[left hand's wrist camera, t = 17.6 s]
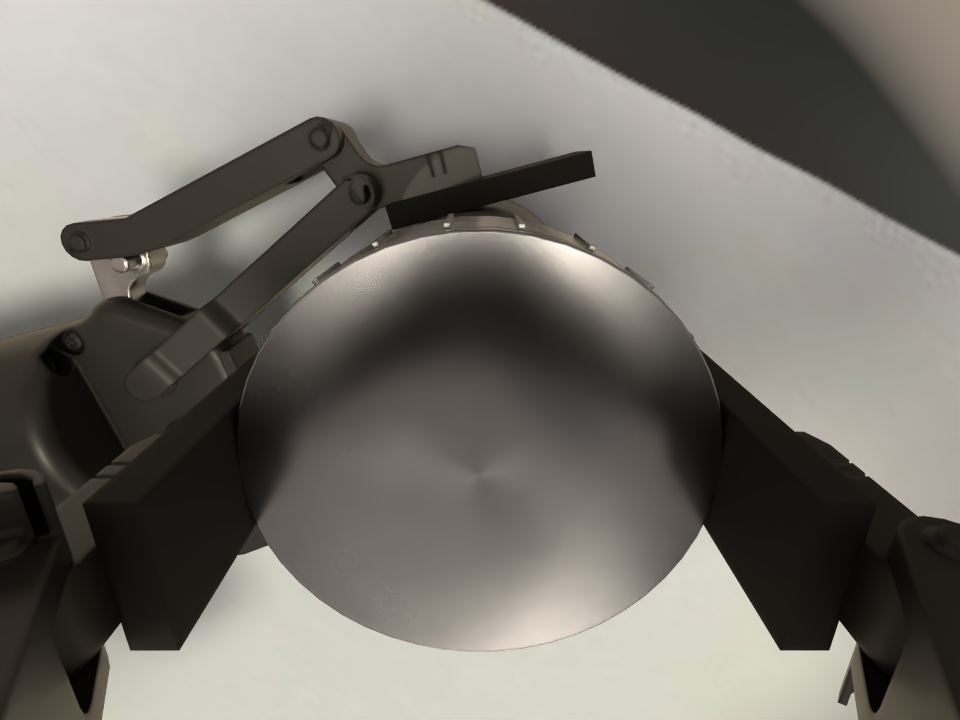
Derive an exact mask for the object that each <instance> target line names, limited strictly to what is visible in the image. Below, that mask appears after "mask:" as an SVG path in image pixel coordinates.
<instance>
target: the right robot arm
mask: <svg viewBox="0 0 960 720" xmlns="http://www.w3.org/2000/svg"><path fill="white" fill-rule="evenodd" d="M324 170H325V172H326V173H327V174H328V176H329V177H330V178H331V180H332V181H333V182H334V184H335V185H336V186H337V187H336V188H335V189H333V190H332V191H331V192H330V193H329V194H328V195H327V196H326V197H325V198H324V199H322V200H321V201H320V202H319V203H318V204H317V205H316V206H315V207H314V208H313V209H312V210H310V211H309V212H308V213H307V214H306V215H305V216H304V217H303V218H302V219H301V220H300V221H298V222H297V223H296V224H295V225H294V226H293V227H292V228H291V229H290V230H289V231H287V232H286V233H285V234H284V235H283V236H282V237H281V238H280V239H279V240H278V241H277V242H275V243H274V244H273V245H272V246H271V247H270V248H269V249H268V250H267V251H266V252H264V253H263V254H262V255H261V256H260V257H259V258H258V259H257V260H256V261H255V262H254V263H252V264H251V265H250V266H249V267H248V268H247V269H246V270H245V271H244V272H243V273H242V274H240V275H239V276H238V277H237V278H236V279H235V280H234V281H233V282H232V283H231V284H229V285H228V286H227V287H226V288H225V289H224V290H223V291H222V292H221V293H220V294H219V295H217V296H216V297H215V298H214V299H213V300H211V301H210V302H209V303H207V304H206V305H204V306H203V307H202V308H201V309H197V308H195V307H192V306H189V305H186V304H183V303H181V302H178V301H175V300H172V299H169V298H166V297H164V296H161V295H158V294H155V293H152V292H149V291H146V286H145V284H146V280H147V278H148V276H149V275H150V274H152V273H154V272H156V271H159V270H160V269H162V268H163V266H164V264H165V259H166V258H167V256H168V252H167V250H166V248H165V247H168V246H172V245H175V244H178V243H182V242H185V241H188V240H190V239H193V238H195V237H197V236H199V235H201V234H203V233H205V232H207V231H209V230H211V229H213V228H215V227H217V226H219V225H220V224H222V223H224V222H226V221H228V220H230V219H232V218H234V217H236V216H238V215H240V214H242V213H244V212H246V211H247V210H249V209H251V208H253V207H255V206H257V205H259V204H261V203H263V202H265V201H267V200H269V199H271V198H272V197H274V196H276V195H278V194H280V193H282V192H284V191H286V190H288V189H290V188H292V187H294V186H296V185H297V184H299V183H301V182H303V181H305V180H307V179H309V178H311V177H313V176H315V175H317V174H319V173H321V172H323V171H324ZM591 177H595V170H594V164H593V158H592V152H591V151H579V152H573V153H569V154H566V155H562V156H558V157H554V158H551V159H547V160H543V161H540V162H536V163H532V164H528V165H525V166H521V167H517V168H514V169H510V170H506V171H502V172H499V173H495V174H491V175H488V176H484V177H482V174H481V170H480V166H479V162H478V158H477V154H476V149H475V148H473V147H466V146H459V145H457V146H454V147H450V148H446V149H443V150H439V151H435V152H432V153H428V154H425V155H421V156H417V157H414V158H410V159H406V160H403V161H399V162H396V163H392V164H388V165H383V164H380V163H377V162H376V161H374V160H373V159H372V158H371V157H370V156H369V155H368V154H367V153H366V151H365V150H364V148H363V147H362V145H361V144H360V143H359V141H358V140H357V137H356V134H355V132H354V131H353V129H352V128H351V127H350V126H349V125H347V124H345V123H343V122H339V121H335V120H331V119H327V118H322V117H314V118H310V119H308V120H306V121H304V122H303V123H301V124H299V125H297V126H295V127H293V128H291V129H290V130H288V131H286V132H284V133H282V134H280V135H279V136H277V137H275V138H273V139H271V140H269V141H267V142H266V143H264V144H262V145H260V146H258V147H256V148H254V149H253V150H251V151H249V152H247V153H245V154H243V155H241V156H240V157H238V158H236V159H234V160H232V161H230V162H228V163H227V164H225V165H223V166H221V167H219V168H217V169H215V170H214V171H212V172H210V173H208V174H206V175H204V176H203V177H201V178H199V179H197V180H195V181H193V182H191V183H190V184H188V185H186V186H184V187H182V188H180V189H178V190H177V191H175V192H173V193H171V194H169V195H167V196H165V197H164V198H162V199H160V200H158V201H156V202H154V203H152V204H151V205H149V206H147V207H145V208H143V209H141V210H139V211H138V212H136V213H134V214H132V215H121V216H115V217H109V218H103V219H96V220H90V221H84V222H78V223H72V224H69V225H67V226H66V227H65V228H64V229H63V230H62V233H61V242H62V245H63V247H64V248H65V250H66V252H68V253H69V254H70V255H71V256H72V257H74V258H76V259H78V260H83V261H90V262H91V264H92V267H93V270H94V273H95V276H96V278H97V281H98V284H99V287H100V290H101V293H102V295H103V298H104V301H102V302H100V303H99V304H98V305H97V306H96V307H95V308H94V309H93V311H92V312H91V313H90V314H89V315H88V316H87V317H86V318H82V319H78V320H74V321H70V322H66V323H63V324H59V325H55V326H51V327H47V328H44V329H40V330H36V331H32V332H28V333H25V334H21V335H17V336H13V337H9V338H6V339H3V340H0V471H6V470H14V469H28V470H36V471H38V472H40V473H42V474H44V476H45V478H46V481H47V484H48V487H49V490H50V493H51V496H52V498H53V501H54V504H55V507H57V506H59V505H60V504H61V503H62V502H64V501H65V500H66V499H67V498H68V497H70V496H71V495H72V494H73V493H74V492H76V491H77V490H78V489H79V488H81V487H82V486H83V485H84V484H85V483H87V482H88V481H89V480H90V479H95V475H96V474H97V473H99V472H100V471H101V470H102V469H104V468H105V467H106V466H107V465H111V462H112V461H113V460H114V459H116V458H117V457H118V456H119V455H121V454H122V453H123V452H124V451H125V450H127V449H128V448H129V447H130V446H132V445H134V444H136V443H138V442H140V441H142V440H144V439H146V438H148V437H150V436H152V435H154V434H163V433H164V432H165V431H166V430H168V429H169V428H170V427H171V426H172V425H173V424H174V423H176V422H177V421H178V420H179V419H180V418H181V417H182V416H184V415H185V414H186V413H187V412H188V411H189V410H191V409H192V408H193V407H194V406H195V405H196V404H197V403H199V402H200V401H201V400H202V399H203V398H204V397H205V396H207V395H208V394H209V393H210V392H211V391H212V390H214V389H215V388H216V387H217V386H218V385H219V384H220V383H222V382H223V381H224V380H225V379H226V378H227V377H229V376H230V375H231V374H232V373H233V372H234V371H235V370H237V369H238V368H239V367H240V366H241V365H242V364H243V363H245V362H246V361H247V360H248V359H249V358H250V357H252V356H253V355H254V354H255V353H256V352H257V351H258V350H259V348H258V346H257V344H256V342H255V339H254V337H253V335H252V332H251V333H247V334H245V333H244V331H243V330H242V329H244V328H245V327H246V326H247V325H248V324H249V323H250V322H252V321H253V320H254V319H255V318H256V317H257V316H258V315H260V314H261V313H262V312H263V311H264V310H265V309H266V308H267V307H268V306H269V305H270V304H271V303H272V302H273V301H275V300H276V299H277V298H278V297H279V296H280V295H281V294H283V293H284V292H285V291H286V290H287V289H288V288H289V287H291V286H292V285H293V284H294V283H295V282H296V281H297V280H298V279H300V278H301V277H302V276H303V275H304V274H305V273H306V272H308V271H309V270H310V269H311V268H312V267H313V266H314V265H316V264H317V263H318V262H319V261H320V260H321V259H322V258H324V257H325V256H326V255H327V254H328V253H329V252H330V251H332V250H333V249H334V248H335V247H336V246H337V245H338V244H339V243H341V242H342V241H343V240H344V239H345V238H346V237H347V236H349V235H350V234H351V233H352V232H353V231H354V230H355V229H357V228H358V227H359V226H360V225H361V224H362V223H363V222H365V221H366V220H367V219H368V218H369V217H370V216H371V215H373V214H374V213H375V212H376V211H377V210H378V209H379V208H383V207H386V210H387V213H388V216H389V220H390V223H391V226H392V229H393V230H395V229H399V228H402V227H406V226H410V225H414V224H417V223H421V222H425V221H429V220H433V219H436V218H440V217H443V216H448V214H452V213H454V214H455V213H459V212H463V211H467V210H470V209H474V208H478V207H482V206H486V205H489V204H493V203H497V202H501V201H504V200H508V199H512V198H516V197H520V196H523V195H527V194H531V193H535V192H538V191H542V190H546V189H550V188H554V187H557V186H561V185H565V184H569V183H573V182H576V181H580V180H584V179H588V178H591ZM267 545H268V544H267V542H266V541H265V539H264V537H263V535H262V534H261V532H260V530H259V528H258V526H257V524H256V526H255V527H254V529H253V531H252V532H251V534H250V535H249V537H248V539H247V540H246V542H245V544H244V545H243V547H242V549H241V550H240V552H239V553H238V555H242V554H246V553H249V552H251V551H254V550H257V549H259V548H262V547H265V546H267Z"/></svg>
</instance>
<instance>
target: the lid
mask: <svg viewBox="0 0 960 720" xmlns="http://www.w3.org/2000/svg"><path fill="white" fill-rule="evenodd" d="M312 283H313V284H314V285H315V286H313V287H312V288H311V289H310V290H309V291H308V292H306V293H305V294H304V295H303V296H302V297H301V298H299V299H298V300H297V301H296V302H295V303H294V304H293V306H292V307H291V308H290V309H289V310H288V311H287V312H286V314H285V315H284V316H283V317H282V318H281V319H280V321H279V322H278V323H277V324H276V325H275V326H274V327H273V328H271V330H270V332H269V333H270V334H269V336H268V338H267V339H266V341H265V342H264V344H263V345H262V347H261V349H260V350H259V352H258V354H257V356H256V359H255V361H254V363H253V366H252V368H251V370H250V372H249V375H248V377H247V379H246V383H245V387H244V391H243V395H242V398H241V402H240V406H239V413H238V423H237V434H236V442H237V458H238V464H239V469H240V474H241V479H242V484H243V490H244V494H245V498H246V500H247V503H248V506H249V508H250V511H251V514H252V517H253V519H254V521H255V522H256V524H257V526H258V528H259V530H260V532H261V534H262V535H263V537H264V539H265V541H266V542H267V544H268V545H269V547H270V548H271V549H272V551H273V552H274V554H275V555H276V556H277V558H278V559H279V561H280V562H281V563H282V564H283V565H284V566H285V568H286V569H287V570H288V571H289V572H290V573H291V574H292V575H293V576H294V577H295V578H296V579H297V580H298V582H299V583H301V584H302V585H303V586H304V587H305V588H307V589H308V590H309V591H310V592H311V593H312V594H314V595H315V596H316V597H317V598H318V599H319V600H321V601H322V602H324V603H325V604H327V605H328V606H330V607H331V608H333V609H334V610H336V611H337V612H339V613H340V614H342V615H344V616H346V617H347V618H349V619H351V620H353V621H355V622H357V623H359V624H361V625H363V626H365V627H367V628H369V629H372V630H374V631H377V632H379V633H382V634H384V635H387V636H389V637H393V638H396V639H400V640H403V641H406V642H410V643H413V644H417V645H423V646H428V647H434V648H439V649H447V650H459V651H502V650H511V649H520V648H527V647H531V646H536V645H541V644H546V643H550V642H554V641H557V640H560V639H563V638H566V637H570V636H573V635H576V634H578V633H580V632H583V631H585V630H587V629H590V628H592V627H594V626H597V625H599V624H601V623H603V622H605V621H607V620H608V619H610V618H612V617H614V616H615V615H617V614H619V613H621V612H623V611H624V610H626V609H627V608H628V607H630V606H631V605H633V604H634V603H635V602H637V601H638V600H640V599H641V598H642V597H644V596H645V595H646V594H647V593H649V592H650V591H651V590H652V589H653V588H654V587H655V586H656V585H657V584H659V583H660V582H661V581H662V580H663V579H664V578H665V577H666V576H667V575H668V574H669V573H670V571H671V570H672V569H673V568H674V567H675V566H676V565H677V563H678V562H679V561H680V560H681V559H682V558H683V556H684V555H685V553H686V552H687V550H688V549H689V547H690V546H691V544H692V543H693V541H694V540H695V538H696V537H697V535H698V533H699V531H700V529H701V527H702V525H703V523H704V521H705V519H706V517H707V515H708V513H709V511H710V508H711V505H712V502H713V499H714V496H715V492H716V487H717V482H718V477H719V472H720V466H721V461H722V455H723V424H722V417H721V409H720V402H719V398H718V395H717V392H716V388H715V385H714V381H713V378H712V375H711V372H710V370H709V368H708V366H707V364H706V362H705V359H704V357H703V355H702V353H701V351H700V349H699V347H698V345H697V344H696V342H695V341H694V337H693V335H692V334H691V333H689V332H688V330H687V329H686V327H685V326H684V325H683V323H682V322H681V320H680V319H679V318H678V317H677V316H676V315H675V314H674V313H673V311H672V310H671V309H670V308H669V307H668V306H667V305H666V304H665V303H664V302H663V301H662V300H661V299H660V297H659V296H658V295H656V294H655V293H654V292H653V291H651V290H652V289H653V288H654V286H652V285H651V284H650V283H649V282H648V281H646V280H645V279H643V278H642V277H641V276H639V275H638V274H637V273H635V272H634V271H633V270H631V269H630V268H628V267H626V268H625V269H623V268H622V267H621V266H620V265H618V264H617V263H616V262H614V261H613V260H612V259H610V258H609V257H608V256H606V255H605V254H604V253H602V252H601V251H599V250H597V249H596V247H595V246H594V245H593V244H591V243H590V242H589V241H587V240H586V239H585V238H583V237H582V236H581V235H579V234H577V233H575V234H574V236H571V235H569V234H566V233H564V232H562V231H559V230H557V229H554V228H552V227H548V226H545V225H541V224H537V223H533V222H529V221H526V220H522V219H521V218H520V216H519V215H515V214H514V216H513V218H505V217H497V216H460V217H454V213H452V214H448V216H447V218H446V219H441V220H434V221H429V222H426V223H422V224H419V225H416V226H412V227H409V228H405V229H402V230H400V231H398V232H395V233H393V232H392V230H389V231H387V232H386V233H384V234H383V235H382V236H381V237H379V238H378V239H377V240H375V241H374V242H373V243H372V244H371V245H369V246H368V247H366V248H364V249H363V250H361V251H360V252H358V253H357V254H355V255H353V256H352V257H350V258H349V259H348V260H346V261H345V262H344V263H342V264H340V263H339V262H337V263H336V264H334V265H333V266H332V267H330V268H329V269H328V270H326V271H325V272H323V273H322V274H321V275H319V276H318V277H317V278H315V279H314V280H313V281H312Z"/></svg>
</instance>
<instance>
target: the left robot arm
mask: <svg viewBox="0 0 960 720" xmlns="http://www.w3.org/2000/svg"><path fill="white" fill-rule="evenodd" d="M700 351H701V350H700ZM258 352H259V350H258V351H257V352H256V353H255V354H254V355H253V356H252V357H250V358H249V359H248V360H247V361H246V362H245V363H243V364H242V365H241V366H240V367H239V368H238V369H237V370H235V371H234V372H233V373H232V374H231V375H230V376H229V377H227V378H226V379H225V380H224V381H223V382H222V383H220V384H219V385H218V386H217V387H216V388H215V389H214V390H212V391H211V392H210V393H209V394H208V395H207V396H205V397H204V398H203V399H202V400H201V401H200V402H199V403H197V404H196V405H195V406H194V407H193V408H192V409H191V410H189V411H188V412H187V413H186V414H185V415H184V416H182V417H181V418H180V419H179V420H178V421H177V422H176V423H174V424H173V425H172V426H171V427H170V428H169V429H168V430H166V431H165V432H164V433H163V434H154V435H152V436H150V437H148V438H146V439H144V440H142V441H140V442H138V443H136V444H134V445H132V446H130V447H129V448H128V449H127V450H125V451H124V452H123V453H122V454H121V455H119V456H118V457H117V458H116V459H114V460H113V461H112V462H111V465H107V466H106V467H105V468H104V469H102V470H101V471H100V472H99V473H97V474H96V475H95V479H90V480H89V481H88V482H87V483H85V484H84V485H83V486H82V487H81V488H79V489H78V490H77V491H76V492H74V493H73V494H72V495H71V496H70V497H68V498H67V499H66V500H65V501H64V502H62V503H61V504H60V505H59V506H57V507H55V504H54V501H53V498H52V496H51V493H50V490H49V487H48V484H47V481H46V478H45V476H44V474H42V473H40V472H38V471H36V470H28V469H14V470H6V471H0V720H102V714H103V708H104V701H105V695H106V688H107V681H108V675H109V668H110V666H109V660H108V655H107V652H106V649H105V646H104V644H105V642H106V641H107V640H108V638H109V637H110V636H111V635H112V633H113V632H114V631H115V629H116V628H117V627H118V625H119V624H120V623H122V626H123V629H124V633H125V636H126V639H127V642H128V645H129V648H130V650H180V649H181V647H182V645H183V644H184V642H185V640H186V639H187V637H188V635H189V634H190V632H191V630H192V629H193V627H194V626H195V624H196V622H197V621H198V619H199V617H200V616H201V614H202V612H203V611H204V609H205V608H206V606H207V604H208V603H209V601H210V599H211V598H212V596H213V594H214V593H215V591H216V590H217V588H218V586H219V585H220V583H221V581H222V580H223V578H224V576H225V575H226V573H227V571H228V570H229V568H230V567H231V565H232V563H233V562H234V560H235V558H236V557H237V555H238V553H239V552H240V550H241V549H242V547H243V545H244V544H245V542H246V540H247V539H248V537H249V535H250V534H251V532H252V531H253V529H254V527H255V526H256V522H255V521H254V519H253V517H252V514H251V511H250V508H249V506H248V503H247V500H246V498H245V494H244V490H243V484H242V479H241V474H240V469H239V464H238V458H237V442H236V434H237V423H238V413H239V406H240V402H241V398H242V395H243V391H244V387H245V383H246V379H247V377H248V375H249V372H250V370H251V368H252V366H253V363H254V361H255V359H256V356H257V354H258ZM701 353H702V355H703V357H704V359H705V362H706V364H707V366H708V368H709V370H710V372H711V375H712V378H713V381H714V385H715V388H716V392H717V395H718V398H719V402H720V409H721V417H722V424H723V455H722V461H721V466H720V472H719V477H718V482H717V487H716V492H715V496H714V499H713V502H712V505H711V508H710V511H709V513H708V515H707V517H706V519H705V521H704V523H703V525H704V526H705V528H706V529H707V531H708V533H709V534H710V536H711V538H712V539H713V541H714V543H715V544H716V546H717V547H718V549H719V551H720V552H721V554H722V556H723V557H724V559H725V561H726V562H727V564H728V565H729V567H730V569H731V570H732V572H733V574H734V575H735V577H736V579H737V580H738V582H739V584H740V585H741V587H742V588H743V590H744V592H745V593H746V595H747V597H748V598H749V600H750V602H751V603H752V605H753V606H754V608H755V610H756V611H757V613H758V615H759V616H760V618H761V620H762V621H763V623H764V624H765V626H766V628H767V629H768V631H769V633H770V634H771V636H772V638H773V639H774V641H775V643H776V644H777V646H778V647H779V649H780V650H829V649H830V646H831V643H832V640H833V637H834V634H835V631H836V628H837V625H838V622H839V620H840V622H841V623H842V624H843V626H844V627H845V628H846V629H847V631H848V632H849V633H850V635H851V636H852V637H853V638H854V640H855V641H856V642H857V643H856V646H855V649H854V652H853V655H852V658H851V661H850V663H849V666H848V669H847V672H846V675H845V678H844V680H843V683H842V686H841V689H840V693H839V698H838V703H840V704H843V705H846V706H847V703H848V700H849V698H850V695H851V693H853V692H854V693H855V699H856V706H857V713H858V719H859V720H960V524H958V523H955V522H952V521H949V520H945V519H940V518H933V517H926V516H919V517H918V516H917V515H915V514H914V513H913V512H912V511H910V510H909V509H908V508H907V507H906V506H904V505H903V504H902V503H901V502H899V501H898V500H897V499H896V498H895V497H893V496H892V495H891V494H890V493H888V492H887V491H886V490H885V489H884V488H882V487H881V486H880V485H879V484H877V483H876V482H875V481H874V480H873V479H871V478H870V477H865V473H864V472H863V471H862V470H860V469H859V468H858V467H857V466H855V465H854V464H853V463H849V460H848V459H847V458H846V457H844V456H843V455H842V454H841V453H840V452H838V451H837V450H836V449H835V448H833V447H832V446H831V445H830V444H828V443H826V442H823V441H821V440H819V439H817V438H815V437H813V436H811V435H809V434H807V433H805V432H794V431H793V430H792V429H791V428H790V427H789V426H788V425H786V424H785V423H784V422H783V421H782V420H781V419H779V418H778V417H777V416H776V415H775V414H774V413H773V412H771V411H770V410H769V409H768V408H767V407H766V406H764V405H763V404H762V403H761V402H760V401H759V400H758V399H756V398H755V397H754V396H753V395H752V394H751V393H750V392H748V391H747V390H746V389H745V388H744V387H743V386H741V385H740V384H739V383H738V382H737V381H736V380H735V379H733V378H732V377H731V376H730V375H729V374H728V373H727V372H725V371H724V370H723V369H722V368H721V367H720V366H718V365H717V364H716V363H715V362H714V361H713V360H712V359H710V358H709V357H708V356H707V355H706V354H705V353H703V352H702V351H701Z"/></svg>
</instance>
